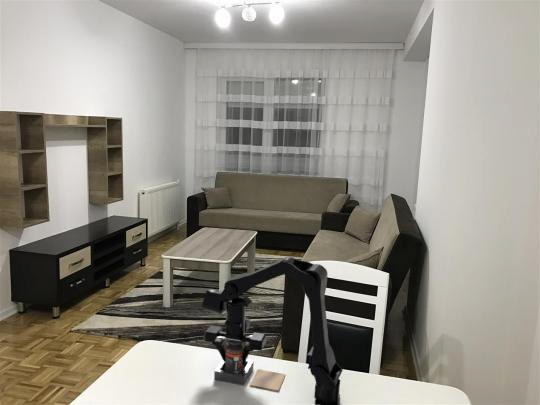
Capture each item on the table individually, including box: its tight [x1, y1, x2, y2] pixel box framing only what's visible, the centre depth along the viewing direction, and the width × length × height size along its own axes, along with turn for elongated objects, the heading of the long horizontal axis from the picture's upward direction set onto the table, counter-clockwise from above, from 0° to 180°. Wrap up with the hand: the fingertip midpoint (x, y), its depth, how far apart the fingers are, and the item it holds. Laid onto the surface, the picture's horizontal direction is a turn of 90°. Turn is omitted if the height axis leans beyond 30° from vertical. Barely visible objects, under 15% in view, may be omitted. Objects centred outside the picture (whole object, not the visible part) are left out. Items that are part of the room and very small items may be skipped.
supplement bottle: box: [225, 339, 245, 374], centre depth 142 cm, size 6×6×11 cm
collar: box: [213, 358, 254, 386], centre depth 143 cm, size 10×10×3 cm
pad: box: [249, 369, 286, 392], centre depth 140 cm, size 9×9×1 cm
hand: (234, 362), depth 142 cm, fingers closed on supplement bottle, 6 cm apart
